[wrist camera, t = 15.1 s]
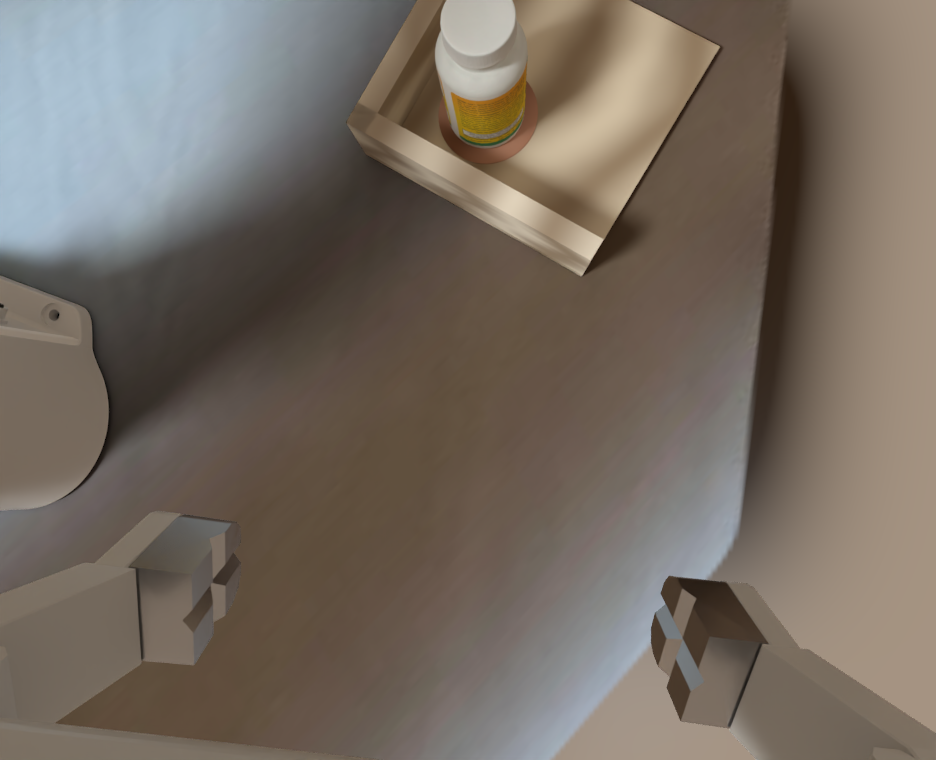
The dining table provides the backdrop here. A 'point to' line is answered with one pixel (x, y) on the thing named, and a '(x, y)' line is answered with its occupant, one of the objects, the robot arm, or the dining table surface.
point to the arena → (541, 120)
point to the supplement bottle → (482, 70)
